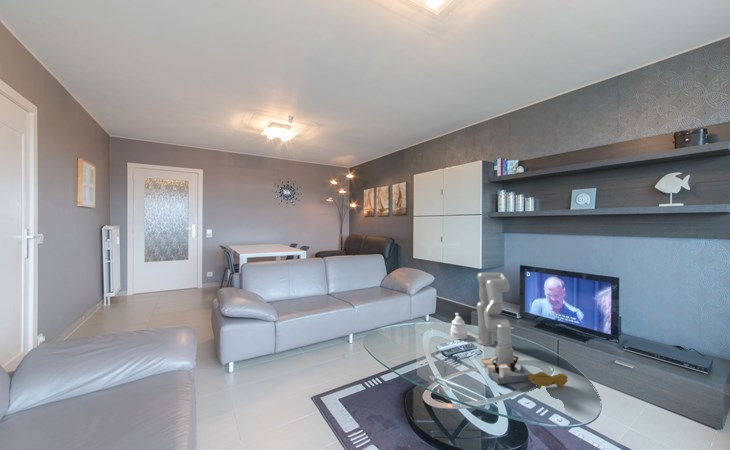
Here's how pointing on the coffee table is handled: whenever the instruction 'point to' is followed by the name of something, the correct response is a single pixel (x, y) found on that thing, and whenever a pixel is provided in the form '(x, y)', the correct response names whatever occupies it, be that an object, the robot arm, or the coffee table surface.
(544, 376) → the decorative fish
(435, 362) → the coffee table surface
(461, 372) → the coffee table surface
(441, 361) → the coffee table surface
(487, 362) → the board
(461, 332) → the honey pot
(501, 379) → the box
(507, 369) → the cream block
